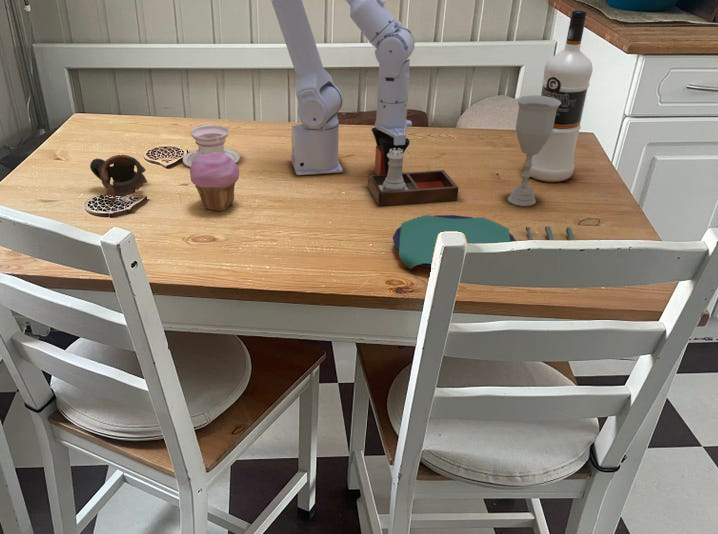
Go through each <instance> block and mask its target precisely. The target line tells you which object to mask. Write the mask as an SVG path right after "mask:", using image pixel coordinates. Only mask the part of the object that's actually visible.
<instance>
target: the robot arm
mask: <svg viewBox="0 0 718 534" xmlns="http://www.w3.org/2000/svg"><path fill="white" fill-rule="evenodd" d="M270 1H271V4H272V7H273V10H274V14H275V16H276V19H277V21H278V24H279V28H280V30H281V33H282V36H283V40H284V43H285V45H286V48H287V51H288V54H289V57H290V60H291V63H292V66H293V69H294V72H295V75H296V78H297V83H296V90H295V95H296V98H297V105H298V106H297V116H298V119H299V120H300V121H301V123H299V124H295V125H292V126H291V164H292V167H293V169H294V172H295V174H296V176H306V175H308V176H309V175H322V174H323V175H324V174H339V173H343V172H344V169H343V167H342V165H341V163H340V162H339V137H340V136H339V134H340V132H339V129H340V128H339V127H340V124H339V123H340V120H339V118H338V113H339V112H340V111H341V109H342V108H343V103H344V101H343V100H344V99H343V94H342V92H341V91H340V89H339V88H338V87H337V86H336V84H335V83H334V81H333V77H332V75H331V74H330V73H329V72H328V71H327V70H326V69H325V67H324V65H323V62H322V59H321V55H320V53H319V49H318V46H317V43H316V41H315V40H316V39H315V37H314V34H313V31H312V28H311V24H310V21H309V19H308V15H307V12H306V8H305V6H304V3H303V0H270ZM345 1H346V2H347V4H348V5H349V17H350V19H351V20H352V21H353V23H354V24H355V26H356V27H357V28H358V29H359V31H361V33H362V34H363V35H364V37H365V38H366V39H367V40H368V43H370V45H371V46H373V47H374V48H375V49H374V56H375V58H376V61H377V62H378V64H379V65H378V66H379V67H378V75H377V93H376V94H377V95H376V116H375V121H374V127H372V128H371V132H372V135H373V137H374V141H375V144H376V146H381V147H382V150H383V155H384V165H385V172H386V174H388V169H389V165H388V162H389V158H388V156H387V154H388V153H389V150H390V149H392V151H393V148H396V150H397V151H398V148H400V149H401V150H402V149H403V153H404V154H405V151H406V150H407V148H408V147H409V146H410V139H409V138H407V137H406V136H407V134H406V131H407V129H408V128H410V127H412V126H413V122H412V121H411V120H410V119H407V114H408V101H409V86H410V64H411V60H410V57H411V56H412V54H413V52H414V49H415V39H414V36H413V34H412V32H411V29H409V28H408V27H406V26H403V24H402V22H401V21H400V20H396V18H395V17H394V16H393V15H392V14H391V13H390V11H389V10H388V8H387V7H386V6H385V5H384V4H386V0H345Z"/></svg>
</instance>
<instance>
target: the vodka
mask: <svg viewBox="0 0 718 534" xmlns="http://www.w3.org/2000/svg"><path fill="white" fill-rule="evenodd" d="M587 14H588V11H587V10H586V9H585V10H584V9H574V10H571V14H570V19H569V25H568V29H567V36H566V40H565V41H566V42H565V44H564V49H562V50H561V51H559V52H557V53H555V54H554V55H552V56H551V57H549V58H548V60H547V61H546V63H545V65H544V68H543V69H544V72H543V79H542V87H541V93H540V96H547V97H552V98H555V99H558V100H559V101H561V104H560V105H559V107H558V108H557V110H556V116H555V121H554V126H553V131H552V133H551V135H550V137H549V138H548V140H547V142H546V143H545V145H544V146H543V147H542V149H541V150H540V151H539V153H538V154H535V155H533V157H532V165H533V166H532V167H531V168H530V174H531V176H530V177H531V178H532V179H534V180H536V181H541V182H546V183H559V182H560V183H561V182H563V181H564V182H565V181H566V180H568V179H570V178H571V177H572V176H573V174H574V171H575V166H576V165H575V157H576V147H577V141H578V137H579V133H580V130H581V122H582V117H583V112H584V108H585V102H586V98H587V93H588V89H589V87H590V81H591V78H592V74H593V63H592V60H591V59H590V58H588V57H587V56H586V55H585V54H584V53H583V52H582V51H581V45H582V39H583V34H584V30H585V24H586V19H587Z"/></svg>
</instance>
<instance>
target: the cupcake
mask: <svg viewBox="0 0 718 534" xmlns="http://www.w3.org/2000/svg"><path fill="white" fill-rule="evenodd" d="M189 175H190V176H189V177H190V181H191V183H192V184H193V185H194V186H195V188H196V190H197V193H198V195H199V198H200V201H201V204H202V206H203V207H204V209H207V210H212V211H215V212H224V211H225V210H226V209H227V208H228V207H229V206H231V205H232V204H233V202H234V200H235V186H236V183H237V182H238V180H239V179H240V177H239V176H240V168H239V166H238V164H237V163H235V162H234V160H232V159H231V158H230V157H229V156H227V155H226V154H223V153H220V152H212V153H207V154H202V155H199V156H198V157H196V158H195V159H194V160H193V161H192V164H191V167H189Z"/></svg>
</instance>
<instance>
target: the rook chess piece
mask: <svg viewBox="0 0 718 534" xmlns="http://www.w3.org/2000/svg"><path fill="white" fill-rule="evenodd" d="M387 156H388V158H389V162H388V165H389V169H388V174H387V177H386V178H385V181H384V182H383V186H384V187H383V188H382V190H383V192H385V191H399V190H406V189H405V188H404V187H405V186H406V184H405V182H404V181H403V180H404V179H403V177H402V173H403V165H404V163H403V162H402V159H404V158H405V157H406V155H405V152H404V153H403V149H402V150H401V149H400V148H398V151H397V150H396V148H393V151H392V149H390V150H389V153H388V154H387Z"/></svg>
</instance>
